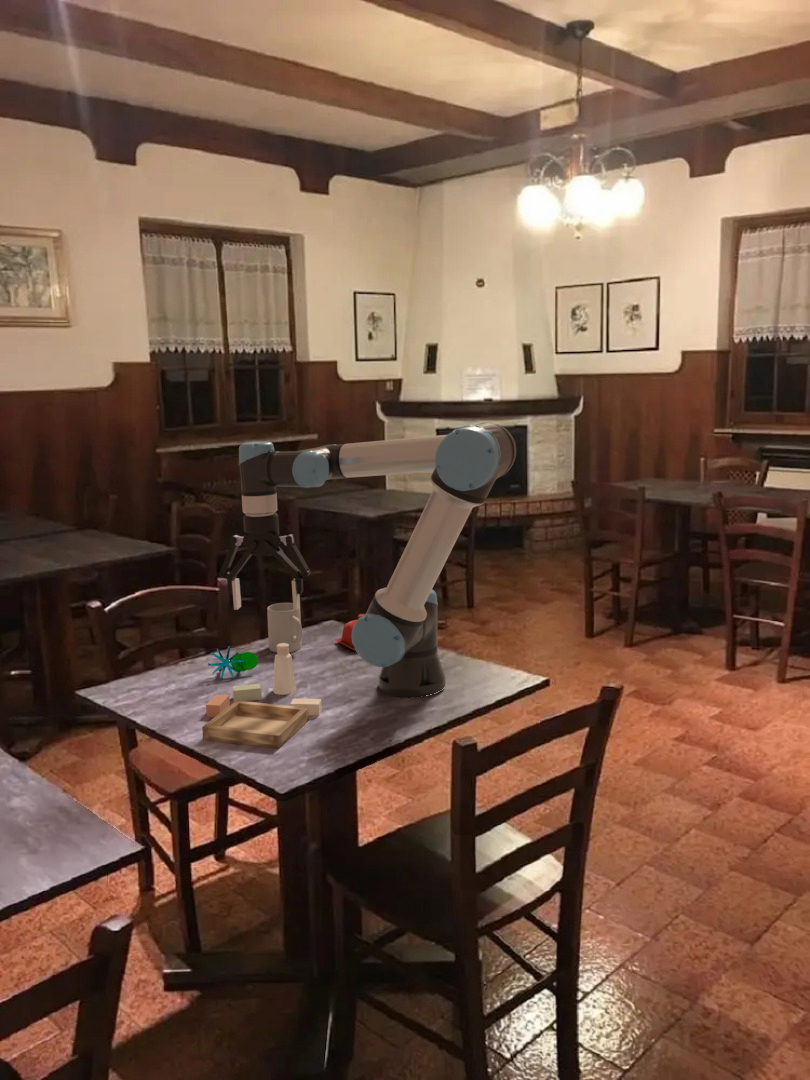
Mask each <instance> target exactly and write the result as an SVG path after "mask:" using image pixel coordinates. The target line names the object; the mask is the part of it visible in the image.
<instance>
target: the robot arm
mask: <svg viewBox="0 0 810 1080" xmlns="http://www.w3.org/2000/svg"><path fill="white" fill-rule="evenodd" d="M516 457H517V446H516V441H515V439H514V437H513V435H512V433H510V432H509V430H508V429H506V428H505V427H504V426H502V425H500V424H498V423H494V422H479V423H476V424H472V425H469V424H468V425H463V426H461V427H458V428H456V429H452V431H451V432H449V433H448V434H442V435H441V434H440V435H431V436H419V437H409V438H396V439H386V440H385V439H384V440H375V441H374V440H373V441H364V442H353V443H352V442H351V443H344V444H340V443H339V444H335V443H332V444H330V443H329V444H324V445H321V446H317V447H312V448H306V449H301V450H295V451H279V450H278V451H277V450H275V447H274V443H272V442H271V441H249V442H243V443H241V444H240V445H239V448H238V468H239V476H240V488H241V506H242V513H243V514H245V515H243V517H242V520H243V522H242V523H243V533H244V535H243V536H240V535H238V534H235V535H232V536H231V537H230V539H229V540H230V541H229V548H228V551H227V553H226V556H225V558H224V561H223V563H222V566H221V568H220V571H219V572H218V576H219V577H220V578H221V579H222V578H223V579H225V580H226V581H227V586H228V594H229V595H232V600H233V601H232V602H233V610H234V611H236V610H237V611H238V610H239V609H240V608H241V607H242V599H241V598H242V597H241V585H240V578H238V577H237V575H238V574H239V573H240V572H241V570H242V569H243V568H244V566H245V565H246V564H247V563H248V561H249V560H250V558H251V557H252V556H255V557H261V556H263V557H270V556H273V557H274V559H276V560H277V562H279V563H280V564H281V565H282V566H283V567H284V568H285V570H286V571H287V572H288V573H289V574H290V575H291V576H292V577H293V579H292V580H291V590H292V591H291V593H292V603H293V609H294V610H297V609H298V608H299V607H300V608H301V600H300V599H301V597H300V596H301V595H302V593H304V581H303V580H304V579H305V578H308V576H310V575H311V573H312V571H311V569H310V568H309V566H308V564H307V563H306V560H305V558H304V557H303V555H302V553H301V551H300V550H299V548H298V546H297V544H296V540H295V535H294V534H293V533H290V534H288V535H283V536H282V535H281V534H280V526H279V525H280V523H279V514H278V513H277V511H278V495H277V494H278V493H277V488H278V487H279V488H281V487H284V488H285V487H286V488H287V487H288V488H293V487H294V488H303V489H309V488H319V487H322V486H323V485H324V484H325V482H326V481H327V480H329V481H330V480H337V479H338V480H339V479H347V478H348V479H349V478H350V479H351V478H361V477H362V478H363V477H375V476H376V477H377V476H379V477H380V476H389V475H391V476H392V475H407V474H408V475H409V474H421V473H432V474H431V476H430V482H431V484H432V486H433V490H432V492H431V494H430V496H429V497H428V499H427V502H426V503H425V507H424V508H423V510H422V512H421V514H420V516H419V519H418V520H417V523H416V526H415V527H414V529H413V532H412V533H411V536H410V538H409V540H408V542H407V544H406V546H405V548H404V550H403V552H402V554H401V557H400V559H399V560H398V562H397V565H396V567H395V569H394V571H393V574H392V575H391V577H390V579H389V581H388V584H387V586H386V587H383V588H380V589H378V590H377V591H376V592H375V594H374V596H373V598H372V600H371V602H370V604H369V606H368V609H367V611H366V613H364V614H365V615H363V616H361V617H360V618H358V619H356V620H357V622H356V623H355V625H354V627H353V629H352V643H353V645H354V647H355V650H354V651H355V652H356V653H357V655H358V656H359V657H360V659H362V660H363V661H364V662H365V663H367V664H369V665H371V666H373V667H378V668H381V669H380V672H379V675H378V689H379V690H380V691H381V692H382V693H384V694H386V695H388V696H391V697H395V696H396V697H395V698H402V697H405V698H406V699H412V698H411V697H420V698H422V697H421V696H426V695H430V694H434V693H436V692H438V691H440V690H442V689H443V688H444V687H445V688H446V686H445V684H446V683H447V682H446V674H445V672H444V669H443V665H442V662H441V660H440V657H439V651H438V606H439V603H438V597H437V596H438V595H437V592H436V591H435V590H434V589H433V588H434V586H435V584H436V582H437V581H438V578H439V576H440V574H441V572H442V570H443V568H444V567H445V564H446V562H447V560H448V557H450V554H451V552H452V550H453V548H454V546H455V544H456V542H457V540H458V538H459V536H460V534H461V532H462V531H463V528H464V526H465V524H466V522H467V521H468V518H469V516H470V515H471V513H472V510H473V509H474V508H476V507H479V506H482V505H484V504H485V501H486V499H487V497H488V496H489V493H490V491H491V490H492V488H493V486H494V484H495V482H496V481H497V479H499V478H500V477H503V476H504V475H506V474H507V473H508V472H509V471H510V470H511V468H512V466H514V462H515V460H516ZM242 543H243V544H244V546H245V547H246V550H245V551H244V552H243V554H242V556H241V557H240V559H239V560H238V561H237V563H236V564H235V566H234V567H233V568H232V569H231V566H232V564H233V561H234V559H235V557H236V554H237V552H238V549H239V546H241V545H242ZM281 543H283V544H284V546H286V547H287V551H288V552H289V553H290V555H291V557H292V559H293V561H294V562H292V560H291V559H290V558H289V557H288V556H287V555H286V554H285V553H284V551H283V549H282V548H281V547H280V545H281ZM294 563H295V564H296V565H295V564H294ZM230 569H231V571H230ZM407 697H408V698H407ZM405 698H404V699H405Z"/></svg>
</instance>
